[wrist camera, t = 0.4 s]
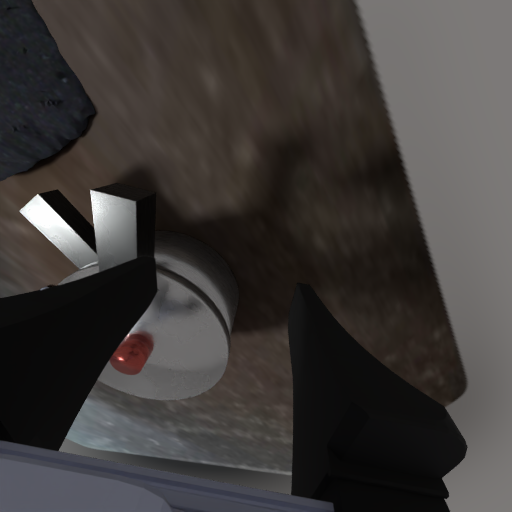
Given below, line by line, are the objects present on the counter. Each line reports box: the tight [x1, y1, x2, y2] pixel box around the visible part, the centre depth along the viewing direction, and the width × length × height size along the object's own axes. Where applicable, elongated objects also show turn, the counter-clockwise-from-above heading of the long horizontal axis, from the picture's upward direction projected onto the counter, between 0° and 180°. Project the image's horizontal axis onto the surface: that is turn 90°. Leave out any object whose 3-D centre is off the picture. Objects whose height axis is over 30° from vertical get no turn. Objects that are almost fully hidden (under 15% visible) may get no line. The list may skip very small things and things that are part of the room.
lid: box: [58, 183, 231, 400], centre depth 17 cm, size 20×15×3 cm
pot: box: [20, 190, 239, 335], centre depth 22 cm, size 20×14×6 cm
